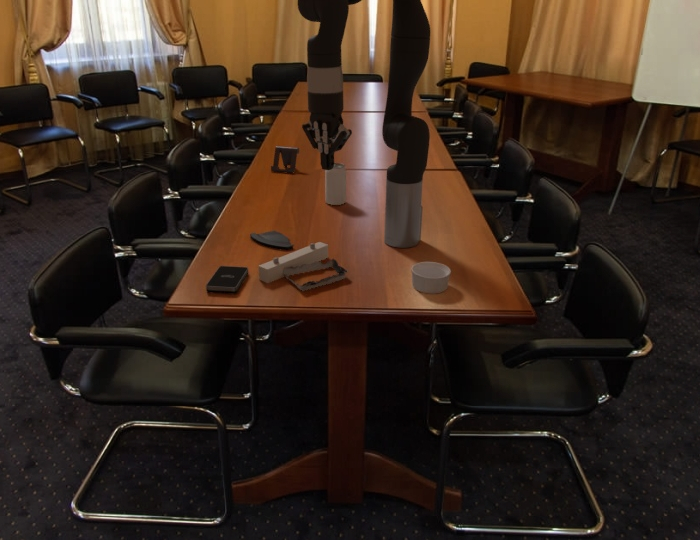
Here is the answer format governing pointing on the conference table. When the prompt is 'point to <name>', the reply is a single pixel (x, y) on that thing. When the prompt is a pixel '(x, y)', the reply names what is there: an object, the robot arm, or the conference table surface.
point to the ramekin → (430, 277)
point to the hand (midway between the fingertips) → (327, 169)
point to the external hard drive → (227, 280)
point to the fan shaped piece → (272, 240)
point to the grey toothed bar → (292, 261)
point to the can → (335, 185)
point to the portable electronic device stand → (285, 159)
